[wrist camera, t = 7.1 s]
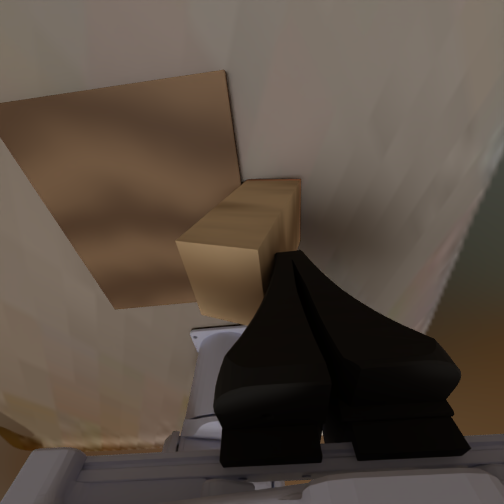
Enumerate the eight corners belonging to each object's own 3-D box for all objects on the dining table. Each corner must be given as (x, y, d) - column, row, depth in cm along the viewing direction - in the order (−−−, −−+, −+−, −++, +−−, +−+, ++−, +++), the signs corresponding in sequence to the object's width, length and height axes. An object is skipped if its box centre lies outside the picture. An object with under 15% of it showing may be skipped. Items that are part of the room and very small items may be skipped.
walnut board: (256, 290, 23) (256, 296, 23) (118, 303, 24) (115, 309, 23) (225, 71, 13) (224, 69, 13) (-8, 105, 14) (-21, 106, 13)
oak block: (300, 240, 18) (267, 330, 11) (254, 236, 20) (201, 314, 13) (300, 179, 15) (257, 249, 9) (247, 179, 17) (175, 240, 10)
